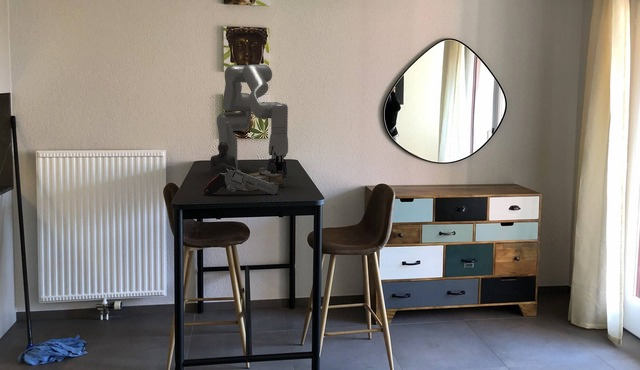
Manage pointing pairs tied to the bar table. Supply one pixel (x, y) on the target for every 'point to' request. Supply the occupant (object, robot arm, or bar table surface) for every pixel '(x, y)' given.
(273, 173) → the bar
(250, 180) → the revolver
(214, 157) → the figurine
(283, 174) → the rock
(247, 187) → the wooden latch block
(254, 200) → the bar table surface
